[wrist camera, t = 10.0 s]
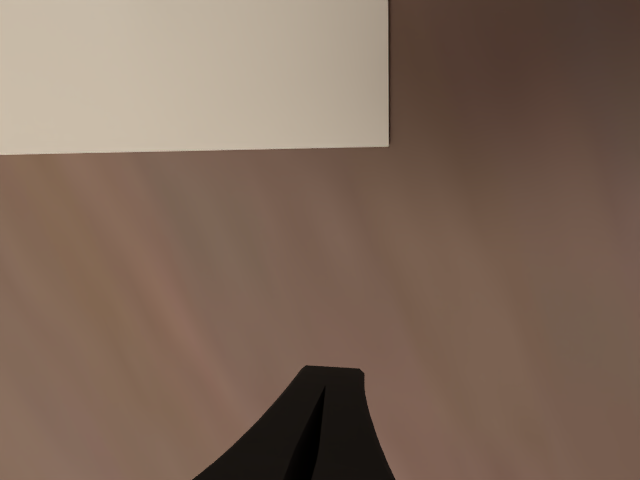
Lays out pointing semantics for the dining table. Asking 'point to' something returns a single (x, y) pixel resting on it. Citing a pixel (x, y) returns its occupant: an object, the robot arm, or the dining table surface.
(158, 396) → the dining table surface
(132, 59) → the mat
